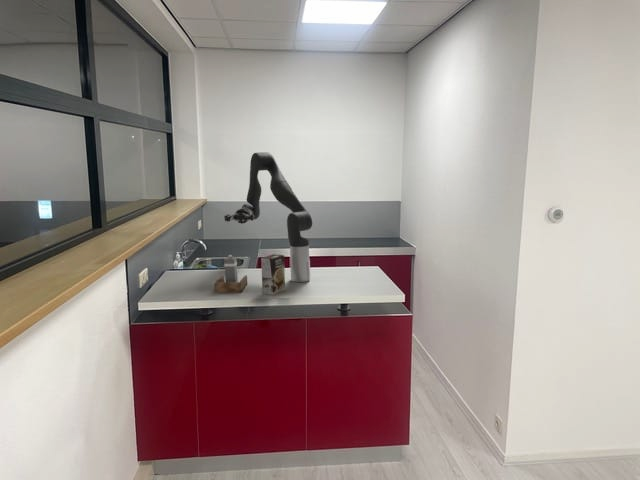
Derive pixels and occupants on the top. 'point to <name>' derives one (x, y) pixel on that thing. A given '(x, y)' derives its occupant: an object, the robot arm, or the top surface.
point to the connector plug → (231, 269)
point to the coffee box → (273, 274)
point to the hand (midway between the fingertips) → (236, 219)
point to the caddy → (230, 285)
